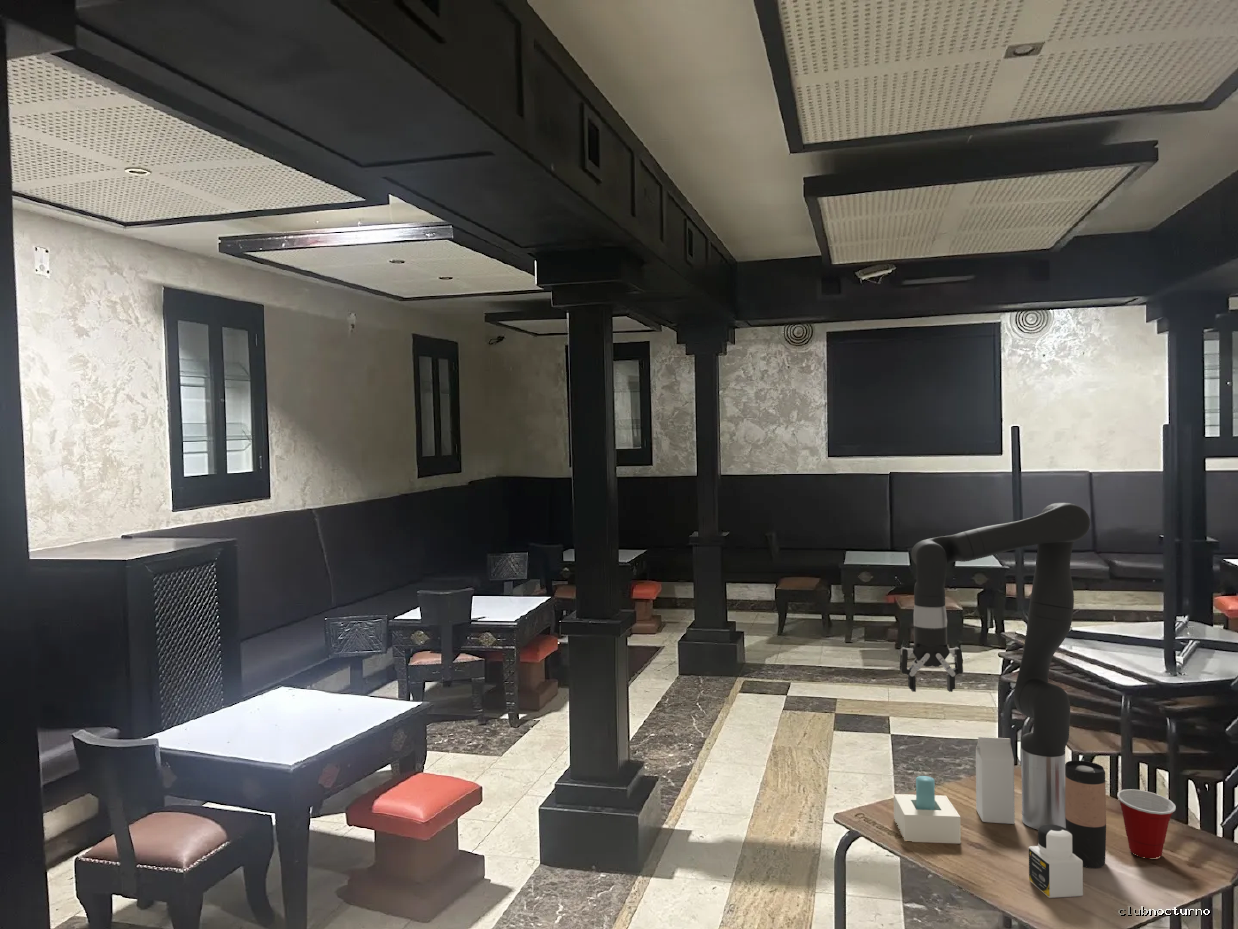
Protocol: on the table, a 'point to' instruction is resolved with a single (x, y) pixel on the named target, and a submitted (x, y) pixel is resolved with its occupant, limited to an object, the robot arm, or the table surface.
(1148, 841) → the plastic cup
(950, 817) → the socket block
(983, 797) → the milk carton
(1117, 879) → the table surface
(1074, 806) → the travel mug
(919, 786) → the peg
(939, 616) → the robot arm
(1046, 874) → the medicine bottle
